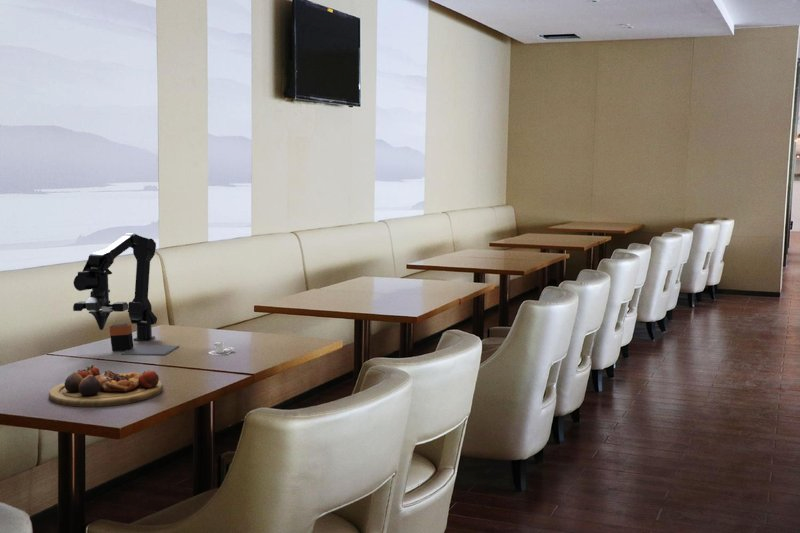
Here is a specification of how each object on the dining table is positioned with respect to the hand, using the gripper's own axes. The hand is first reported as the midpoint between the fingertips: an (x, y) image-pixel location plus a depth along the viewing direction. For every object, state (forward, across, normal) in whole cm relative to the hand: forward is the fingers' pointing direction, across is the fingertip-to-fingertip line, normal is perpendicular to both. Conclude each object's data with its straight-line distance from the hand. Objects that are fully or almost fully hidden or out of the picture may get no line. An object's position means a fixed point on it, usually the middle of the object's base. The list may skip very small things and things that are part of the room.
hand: (101, 329), depth 328 cm
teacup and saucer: (+8, +47, -3) cm, 48 cm away
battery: (+7, +8, 0) cm, 11 cm away
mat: (+8, +18, 0) cm, 20 cm away
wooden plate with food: (+8, +28, -63) cm, 69 cm away
